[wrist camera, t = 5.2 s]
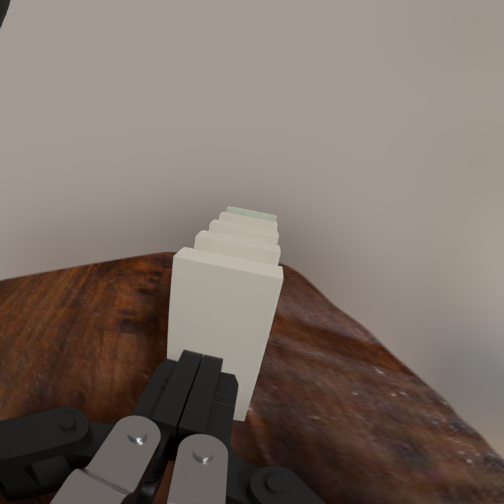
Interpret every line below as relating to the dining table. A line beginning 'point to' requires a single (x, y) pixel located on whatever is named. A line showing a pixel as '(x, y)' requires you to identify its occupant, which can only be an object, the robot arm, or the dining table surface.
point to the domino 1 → (223, 313)
